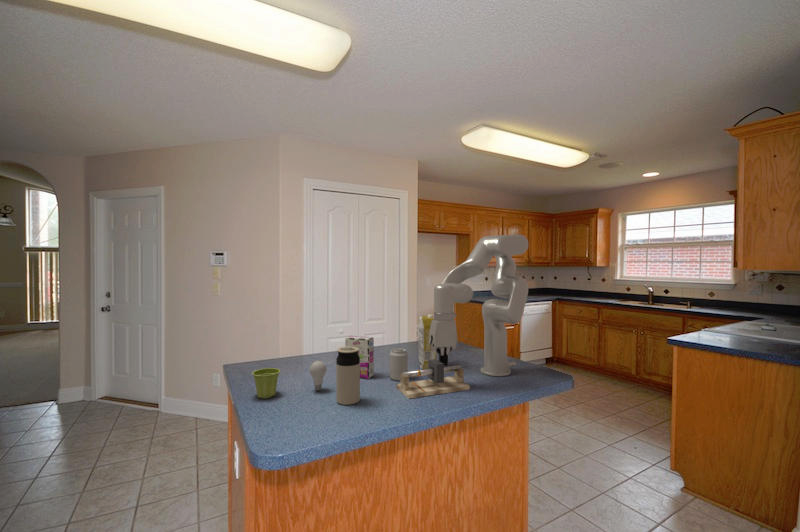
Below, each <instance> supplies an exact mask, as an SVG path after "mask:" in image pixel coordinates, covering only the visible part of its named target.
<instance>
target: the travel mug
mask: <svg viewBox="0 0 800 532" xmlns="http://www.w3.org/2000/svg"><path fill="white" fill-rule="evenodd" d="M336 351H337V354H338V355H337V357H336V360H335V361H336V362H335V363H336V370H335V371H336V373H335V375H336V403H338V404H339V405H343V406H350V405H355V404H357V403H359V402H360V400H361V395H360V394H361V378H360V357H359V355H358V351H359V348H357V347H346V346H342V347H338V348H337V349H336Z"/></svg>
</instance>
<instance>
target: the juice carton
mask: <svg viewBox="0 0 800 532" xmlns="http://www.w3.org/2000/svg"><path fill="white" fill-rule="evenodd" d="M432 320H434V314H427V315H424V316H423V315H421V316H419V319H418V364H419V368H420V370H426V369H428V360H432V359H436V360H437V352H436V351H432V350H431V349H430V348H431V345H430V344H429V336H430V327H431V322H432ZM435 348H436V347H435Z"/></svg>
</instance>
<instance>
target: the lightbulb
mask: <svg viewBox="0 0 800 532" xmlns="http://www.w3.org/2000/svg"><path fill="white" fill-rule="evenodd" d="M327 368H328V367H327V365H326V364H325V362H323V361H321V360H316V361H313V362H312V363H311V365H310V367H309V373H310V375H311V377H312V380H313V385H314V390H315V391H317V392H319V391H320V390H322V388H323V387H322V386H323V380H324V376H325V375H326V373H327Z"/></svg>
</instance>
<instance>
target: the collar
mask: <svg viewBox="0 0 800 532" xmlns="http://www.w3.org/2000/svg"><path fill="white" fill-rule="evenodd" d="M444 367H445V366H444V364H443V363H441V362H440V361H439V359H437V358H436V359H432V360H428V369H434V374H431V375H427V377H428V380H429V379H431V380H432V381H434V382H435V383H437V384H438V383H444V377H445V373H444Z"/></svg>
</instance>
